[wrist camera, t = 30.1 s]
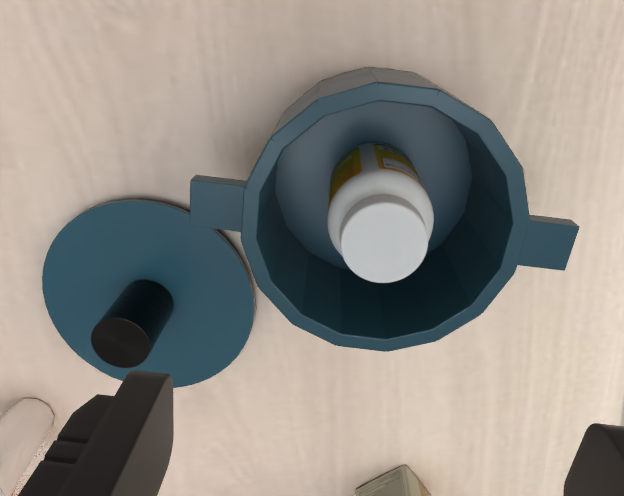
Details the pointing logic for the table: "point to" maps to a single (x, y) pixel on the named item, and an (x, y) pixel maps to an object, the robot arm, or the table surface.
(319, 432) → the table surface
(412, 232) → the supplement bottle
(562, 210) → the table surface
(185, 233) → the lid
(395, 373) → the table surface
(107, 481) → the robot arm
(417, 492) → the box
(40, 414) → the milkshake
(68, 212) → the table surface
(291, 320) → the pot
